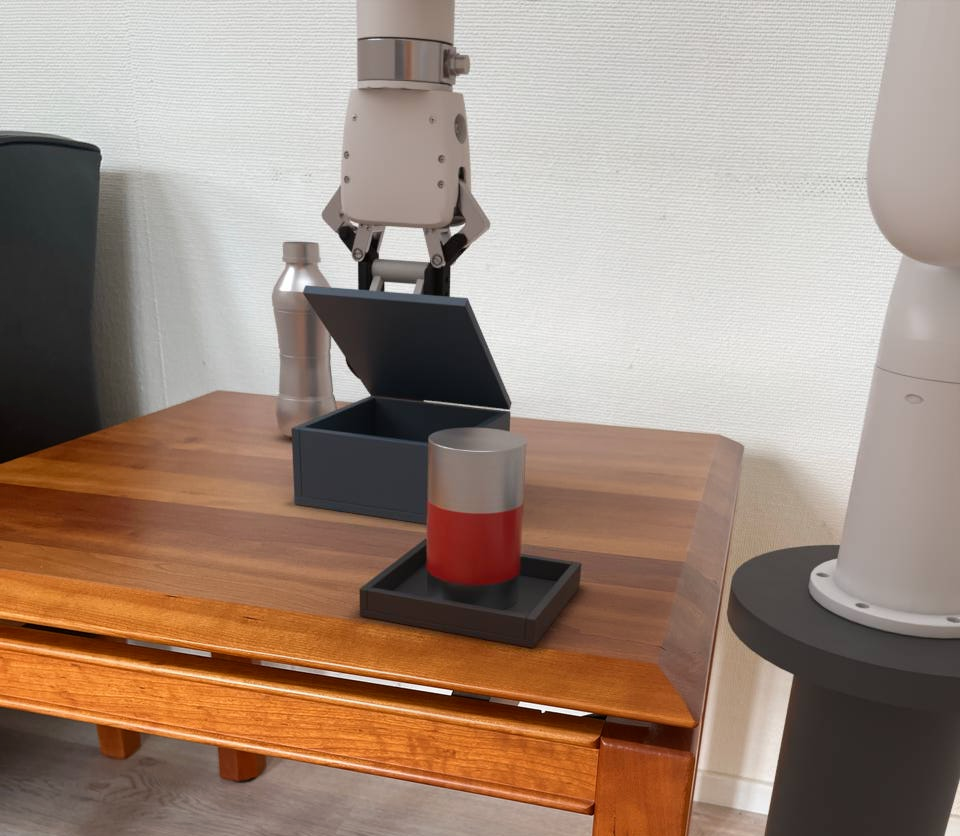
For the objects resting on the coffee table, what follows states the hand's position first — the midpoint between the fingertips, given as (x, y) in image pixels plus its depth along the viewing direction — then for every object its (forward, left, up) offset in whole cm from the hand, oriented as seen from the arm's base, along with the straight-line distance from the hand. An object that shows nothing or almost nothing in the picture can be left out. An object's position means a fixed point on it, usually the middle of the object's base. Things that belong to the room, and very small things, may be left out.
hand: (403, 311), depth 87 cm
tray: (-15, +21, -16) cm, 31 cm away
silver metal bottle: (+18, -15, -16) cm, 28 cm away
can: (-15, +22, -16) cm, 30 cm away
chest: (0, -1, -16) cm, 16 cm away
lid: (0, -2, -4) cm, 4 cm away
